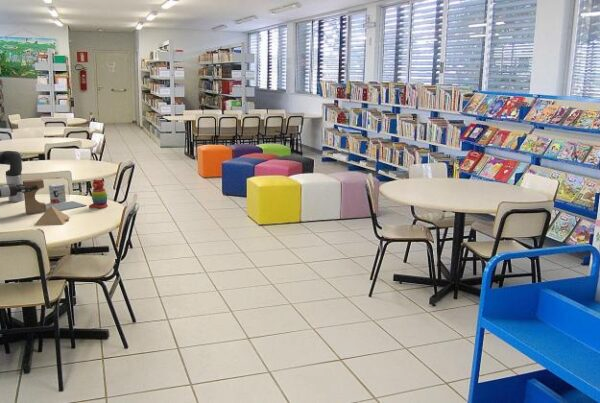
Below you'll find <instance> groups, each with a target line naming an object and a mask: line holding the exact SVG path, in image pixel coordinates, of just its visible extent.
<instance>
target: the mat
mask: <svg viewBox="0 0 600 403" xmlns="http://www.w3.org/2000/svg"><path fill="white" fill-rule="evenodd" d="M50 206H52V207H54V208H56V209H57V210H59V211H61V212H63V211H68V210H72V209H78V208H82V207H87V204H83V203H80V202H77V201H73V200H72V201H71V200H70V201H66V202H61V203H55V204H50V205H46V211H47V210H48V208H49V207H50Z"/></svg>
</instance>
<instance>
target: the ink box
mask: <svg viewBox="0 0 600 403" xmlns="http://www.w3.org/2000/svg"><path fill="white" fill-rule="evenodd" d="M48 189H49V200H50V204H52V205H54V204H59V203H65V202H67V199H66V198H67V197H66V186H65V184H63V183H56V184H55V183H53V184H49V185H48Z"/></svg>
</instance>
